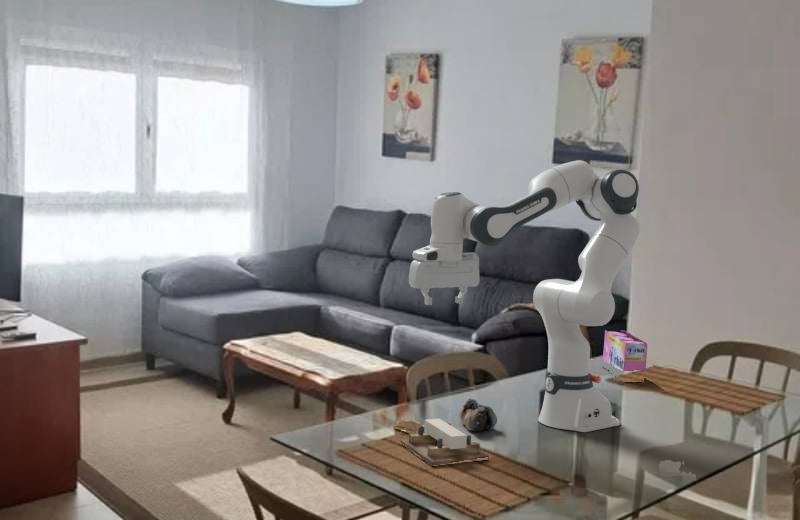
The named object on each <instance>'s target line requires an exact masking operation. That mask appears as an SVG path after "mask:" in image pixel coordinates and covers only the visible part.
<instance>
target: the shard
mask: <svg viewBox="0 0 800 520" xmlns="http://www.w3.org/2000/svg"><path fill="white" fill-rule="evenodd" d="M419 426H423V423H422V422H418V421H416V420H404V419H403V420H400V419H399V420H397V421H396V424H394V425H393V426H392V427H393V428H394V429H400V430H406V431H411V432H413V431H414V432H415V431H418V427H419ZM423 427H424V426H423ZM393 428H392V429H393ZM394 429H393V430H394ZM415 433H416V432H415Z"/></svg>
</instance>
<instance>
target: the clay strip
mask: <svg viewBox="0 0 800 520" xmlns="http://www.w3.org/2000/svg"><path fill="white" fill-rule="evenodd" d="M447 423H448V422H446V421H444V420H442V419H441V418H431V419H424V426H423V433H427V434H428V435H430V436H432V437H433V438H435V439H436V440H437V439H438V438H442V439H443V443H442V444H444V445H445V446H447V447H448V448H450V449H459V448H466V441H467V435H468V434H466V433H464V432H462V431H460V430H459V429H458V428H456V427H454V426H453V425H452V424H451V425H449V424H447Z"/></svg>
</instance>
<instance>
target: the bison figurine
mask: <svg viewBox="0 0 800 520" xmlns="http://www.w3.org/2000/svg"><path fill="white" fill-rule="evenodd" d="M459 419H460V421H461V423H463V425H465V428H466V429H467V430H469V431H470V430H472V431H471V432H475V431H476V432H480V431H482V430H484V429H485V428H486V429H485V430H487V429H489V430H488V431H492V430H493V429H495V426H496V425H497V423H498V417H497V414H496V413H495V411H494V409H493V408H492V407H491V406H489V405H488V406H487V405H483V404H479V403H478V401H477V400H476V399H473V398H468V399H467V401H466V402H465V403H464V404H463V405H462V408H461V410H460V412H459Z"/></svg>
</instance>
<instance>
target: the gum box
mask: <svg viewBox="0 0 800 520" xmlns="http://www.w3.org/2000/svg"><path fill="white" fill-rule="evenodd" d="M602 352H603V354H602V355H603V356H602V362H603V361H604V362H606V363H608V364H610V365H612V366H614V367H615V368H617V369H619V370H621V371H634V370H642V369H645V370H646V369H647V368H646V367H647V356H648V343H647V342H646V341H644V340H642V339H640V338H638V337H637V336H635V335H633V334H632V333H630V332H629V331H626V330H620V331H619V332H617V331H608V329H605V330H604V343H603V351H602Z"/></svg>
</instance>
